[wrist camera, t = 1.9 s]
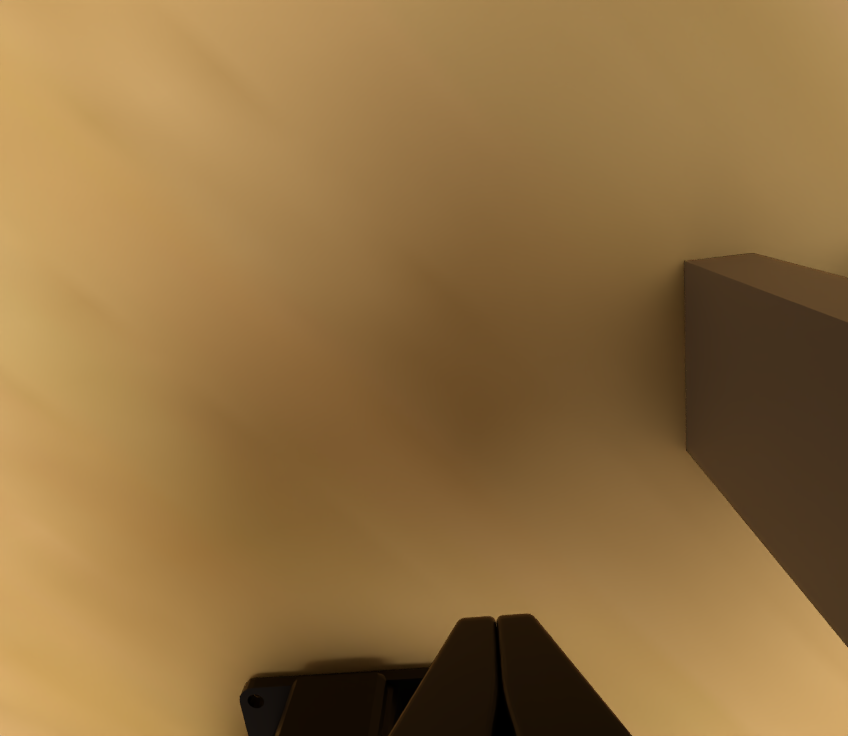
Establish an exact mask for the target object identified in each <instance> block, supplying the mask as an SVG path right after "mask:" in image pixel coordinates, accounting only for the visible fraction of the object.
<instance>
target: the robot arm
mask: <svg viewBox="0 0 848 736" xmlns="http://www.w3.org/2000/svg"><path fill="white" fill-rule="evenodd" d="M496 624H497V626H496ZM254 694H255V695H259V696H261V697H262V698H259V697H256V696H255V695H254ZM240 705H241V709H242V712H243V716H244V720H245V724H246V728H247V732H248V736H632V735H631V734H630V732H629V731H628V730H627V729H626V728H625V726H624V725H623V724H622V723H621V721H620V720H619V719H618V718H617V717H616V715H615V714H614V713H613V712H612V710H611V709H610V708H609V707H608V706H607V704H606V703H605V702H604V701H603V700H602V698H601V697H600V696H599V695H598V693H597V692H596V691H595V690H594V689H593V687H592V686H591V685H590V684H589V682H588V681H587V680H586V679H585V678H584V676H583V675H582V674H581V673H580V671H579V670H578V669H577V668H576V667H575V665H574V664H573V663H572V662H571V661H570V659H569V658H568V657H567V656H566V654H565V653H564V652H563V651H562V650H561V648H560V647H559V646H558V645H557V643H556V642H555V641H554V640H553V639H552V637H551V636H550V635H549V634H548V632H547V631H546V630H545V629H544V628H543V626H542V625H541V624H540V623H539V621H538V620H537V619H536V618H535V617H534V616H533V615H531V614H513V615H502V616H499V617H498V619H497V623H496V621H495V619H494V618H493V617H491V616H484V617H469V618H462V619H460V620H459V621H458V622H457V623H456V625H455V627H454V628H453V630H452V632H451V633H450V635H449V637H448V638H447V640H446V642H445V643H444V645H443V646H442V648H441V650H440V651H439V653H438V655H437V656H436V658H435V660H434V661H433V663H432V665H431V666H430V668H415V669H398V670H381V671H364V672H347V673H331V674H314V675H297V676H280V677H263V678H254V679H251V680H249V681H248V682H246V684H245V686H244V688H243V691H242V693H241V695H240Z"/></svg>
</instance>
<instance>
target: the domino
mask: <svg viewBox="0 0 848 736" xmlns="http://www.w3.org/2000/svg"><path fill="white" fill-rule="evenodd" d="M684 287H685V392H686V451H687V452H688V453H689V454H690V455H691V457H692V458H693V459H694V460H695V462H696V463H697V464H698V465H699V466H700V468H701V469H702V470H703V471H704V473H705V474H706V475H707V476H708V477H709V479H710V480H711V481H712V482H713V483H714V485H715V486H716V487H717V488H718V490H719V491H720V492H721V493H722V494H723V496H724V497H725V498H726V499H727V501H728V502H729V503H730V504H731V505H732V507H733V508H734V509H735V510H736V512H737V513H738V514H739V515H740V516H741V518H742V519H743V520H744V521H745V523H746V524H747V525H748V526H749V527H750V529H751V530H752V531H753V532H754V534H755V535H756V536H757V537H758V538H759V540H760V541H761V542H762V543H763V544H764V546H765V547H766V548H767V549H768V551H769V552H770V553H771V554H772V555H773V557H774V558H775V559H776V560H777V562H778V563H779V564H780V565H781V566H782V568H783V569H784V570H785V571H786V573H787V574H788V575H789V576H790V577H791V579H792V580H793V581H794V582H795V584H796V585H797V586H798V587H799V588H800V590H801V591H802V592H803V593H804V595H805V596H806V597H807V598H808V599H809V601H810V602H811V603H812V604H813V605H814V607H815V608H816V609H817V610H818V612H819V613H820V614H821V615H822V616H823V618H824V619H825V620H826V621H827V623H828V624H829V625H830V626H831V627H832V629H833V630H834V631H835V632H836V634H837V635H838V636H839V637H840V638H841V640H842V641H843V642H844V643H845V645H846V646H847V647H848V278H847V277H843V276H839V275H835V274H831V273H828V272H824V271H820V270H816V269H812V268H808V267H805V266H801V265H797V264H793V263H789V262H785V261H781V260H778V259H774V258H770V257H766V256H762V255H758V254H755V253H749V254H740V255H731V256H723V257H714V258H705V259H697V260H688V261H684Z"/></svg>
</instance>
